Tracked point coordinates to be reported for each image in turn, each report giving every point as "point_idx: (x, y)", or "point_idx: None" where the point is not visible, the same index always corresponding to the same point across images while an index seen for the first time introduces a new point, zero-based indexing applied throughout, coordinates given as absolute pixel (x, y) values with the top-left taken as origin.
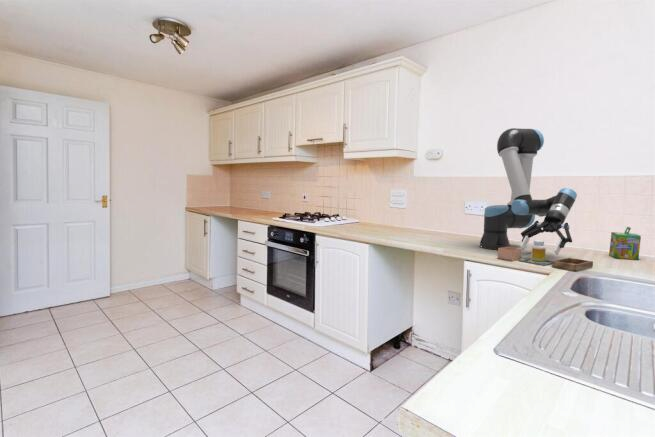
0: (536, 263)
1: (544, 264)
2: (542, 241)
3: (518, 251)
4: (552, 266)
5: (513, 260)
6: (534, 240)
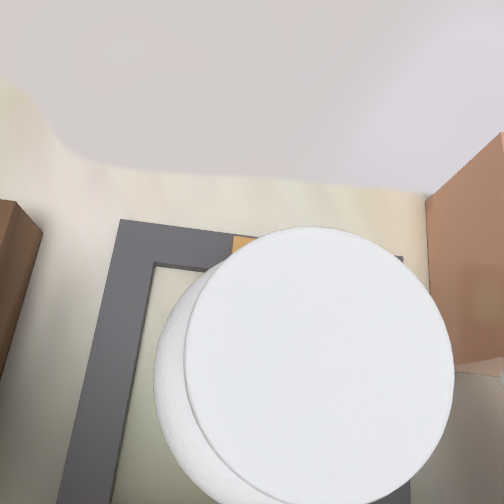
0: (204, 230)
1: (124, 244)
2: (203, 294)
3: (497, 277)
4: (36, 229)
5: (429, 220)
6: (426, 312)
